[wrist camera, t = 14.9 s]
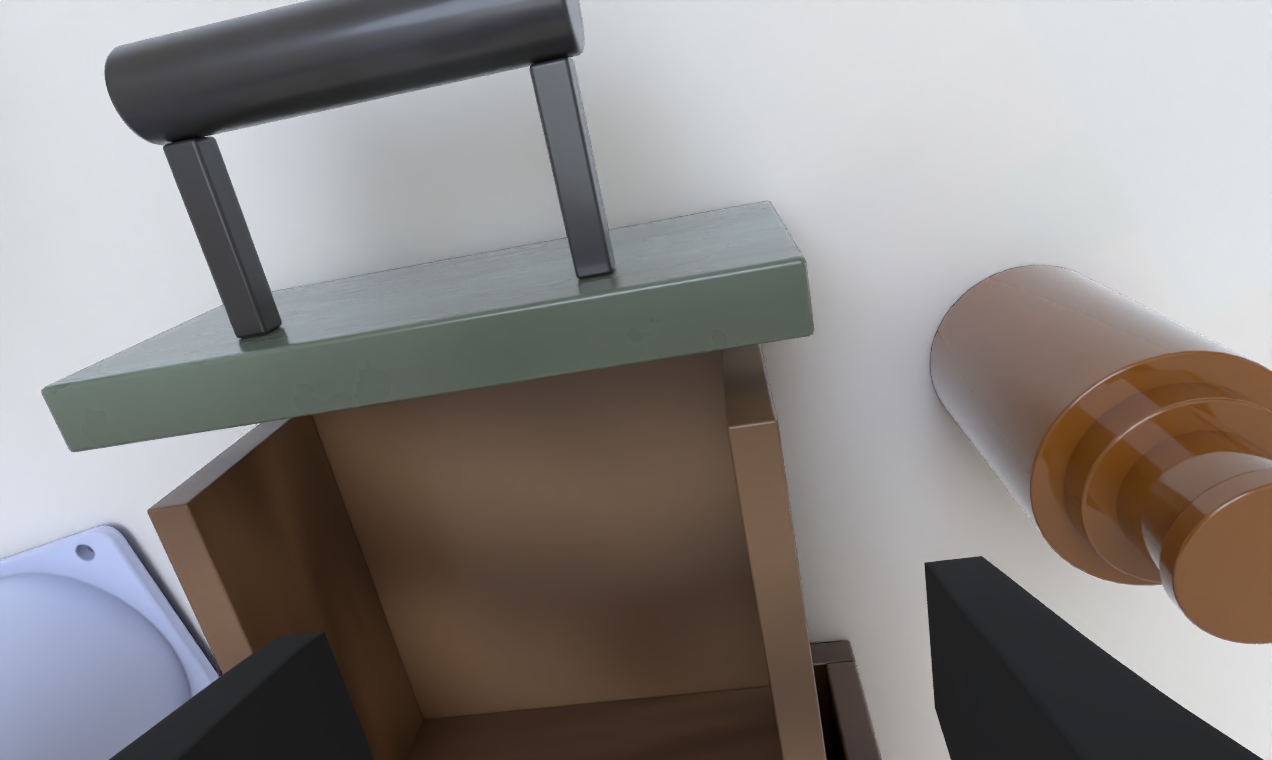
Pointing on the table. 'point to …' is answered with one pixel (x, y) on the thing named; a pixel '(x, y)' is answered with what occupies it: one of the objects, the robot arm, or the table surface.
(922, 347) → the table surface
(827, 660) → the cabinet
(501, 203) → the table surface
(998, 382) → the glass bottle
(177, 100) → the rack drawer
